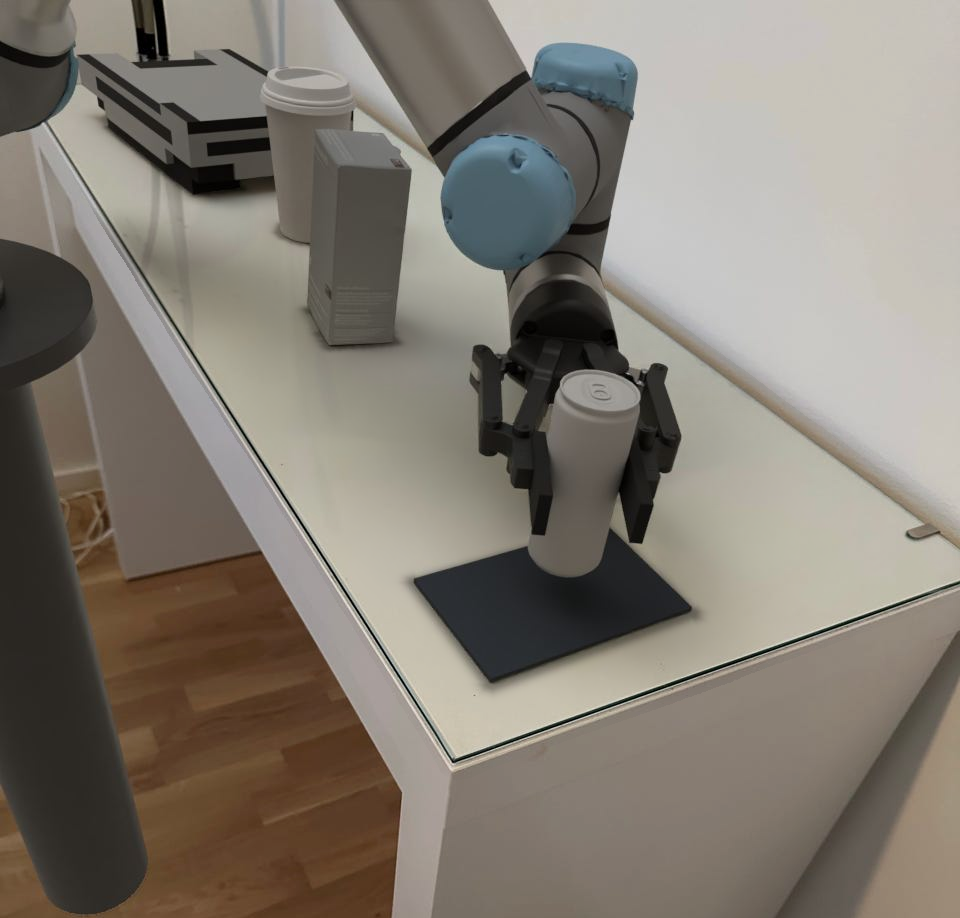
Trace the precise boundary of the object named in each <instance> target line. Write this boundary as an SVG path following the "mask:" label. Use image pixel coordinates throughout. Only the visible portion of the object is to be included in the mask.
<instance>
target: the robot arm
mask: <svg viewBox="0 0 960 918" xmlns="http://www.w3.org/2000/svg"><path fill="white" fill-rule="evenodd" d="M71 1H72V0H0V138H1V137H4V136H7V135H10V134H13V133H20V132H26V131H30V130H34V129H36V128H38V127H40V126H41V125H42V124H43V123H47V122H48V121H49V120H51V119H52V118H53V117H55V116H57V115H58V114H59V113H60V112H62V111H63V110H64V109H65V108H66V106H67V105H68V104H69V103H70V101H71V100H72V97H73V95H74V92H75V90H76V86H77V83H78V79H79V61H78V59H77V56H75V51H74V49H75V48H76V47H77V43H76V37H77V33H78V28H77V27H78V26H77V22H76V18H75V15H74V12H73V11H72V8H71V6H70V3H71ZM333 1H334V4H335V5H336V7H337V8H338V9H339V11H340V13H341V14H342V16H343V18H344V19H345V21H346V23H347V24H348V25H349V27H350V29H351V30H352V32H353V33H354V35H355V37H356V38H357V40H358V41H359V43H360V44H361V47H362V48H363V49H364V51H365V52H366V54H367V55H368V57H369V58H370V60H371V62H372V64H373V65H374V67H375V68H376V70H377V72H378V74H379V75H380V76H381V78H382V80H383V81H384V83H385V84H386V86H387V87H388V89H389V90H390V92H391V93H392V95H393V97H394V99H395V100H396V102H397V103H398V104H399V107H400V108H401V109H402V111H403V113H404V114H405V117H406V118H407V119H408V120H409V122H410V123H411V126H412V127H413V128H414V130H415V132H416V133H417V135H418V136H419V138H420V140H421V141H422V143H423V144H424V146H425V148H426V150H427V151H428V152H429V154H430V156H431V157H432V159H433V161H434V163H435V165H436V167H437V169H438V170H439V172H440V173H441V175H442V176H443V181H442V184H441V185H442V186H441V190H440V198H439V199H440V207H441V214H442V219H443V225H444V228H445V231H446V233H447V235H448V237H449V239H450V240H451V242H452V243H453V245H454V246H455V247H456V249H457V250H458V251H459V252H460V253H461V254H462V255H463V256H465V257H466V258H467V259H469V260H470V261H472V262H473V263H474V264H477V265H479V266H481V267H482V268H485V269H489V270H494V271H502V273H503V275H504V278H505V279H504V280H505V281H504V282H505V284H506V285H505V286H506V297H507V306H508V323H509V325H508V326H509V340H510V341H509V342H510V346H509V348H508V349H507V352H506V353H502V354H501V353H498V352H497V353H494V351H493V349H492V348H491V347H490V346H488V345H485V344H481V343H480V344H479V343H478V344H475V345H473V347H472V353H471V361H470V370H469V379H468V382H469V383H470V385H471V387H472V388H473V389H474V391H475V392H476V394H477V435H478V437H477V439H478V440H477V443H478V446H477V447H478V449H477V451H478V453H479V454H480V455H482V456H483V457H488V458H492V457H496V456H497V455H498V453H499V454H501V455H503V456H505V457H506V458H507V459H506V468H505V470H506V472H507V474H508V475H509V483H510V485H511V486H512V488H513V489H516V490H518V489H519V490H527V493H528V494H527V495H528V504H529V518H530V532H531V531H532V535H541V536H545V534H546V529H547V524H548V519H549V514H550V509H551V504H552V499H553V490H552V482H551V473H550V464H549V456H548V447H547V431H542V430H540V428H541V426H542V423H543V421H544V419H545V418H546V416H547V413H548V412H549V411H548V410H549V408H550V405H554V400H555V395H556V392H557V390H558V389H559V387H560V381H561V380H562V378H563V377H564V376H566V375H567V374H569V373H571V372H574V371H579V370H599V371H606V372H609V373H613V374H616V375H619V376H621V377H623V378H625V379H627V380H628V381H630V382H632V383H633V384H634V385H635V386H636V387H637V388H638V390H639V392H640V397H641V400H640V402H639V405H640V413H639V417H638V421H637V425H636V428H635V432H634V436H633V440H632V444H631V447H630V451H629V455H628V459H627V463H626V467H625V470H624V474H623V478H622V482H621V486H620V490H619V493H618V496H619V499H620V500H619V501H620V505H621V510H622V515H623V519H624V525H625V529H626V533H627V538H628V543H629V544H638V545H643V544H644V540H645V536H646V533H647V530H648V527H649V523H650V520H651V516H652V513H653V510H654V506H655V503H654V500H655V497H656V494H657V492H658V488H659V485H660V481H661V478H662V476H661V474H670V473H671V472H672V471H673V468H674V465H675V460H676V457H677V454H678V452H679V448H680V446H681V445H680V444H681V441H682V437H683V435H682V432H681V428H680V426H679V423H678V420H677V416H676V413H675V410H674V408H673V405H672V402H671V398H670V395H669V392H668V389H667V386H666V383H665V382H666V379H667V375H668V371H669V367H668V366H667V365H666V364H665V363H664V364H663V363H660V362H653V363H651V364H650V366H649V368H648V369H647V368H642V369H638V368H635V367H631V366H630V362H629V359H628V358H627V357H626V356H625V355H623V354H622V353H621V352H620V349H619V348H620V347H619V341H618V335H617V332H616V328H615V324H614V320H613V316H612V313H611V309H610V304H609V301H608V297H607V293H606V289H605V286H604V282H603V279H602V278H603V277H602V274H601V271H602V262H603V258H604V253H605V247H606V243H607V238H608V233H609V228H610V223H611V218H612V211H613V205H614V201H615V196H616V192H617V186H618V183H619V178H620V177H619V176H620V173H621V169H622V163H623V159H624V155H625V150H626V146H627V141H628V137H629V132H630V126H631V122H632V121H634V118H635V110H634V105H635V99H636V94H637V93H636V92H637V86H638V80H639V72H638V68H637V66H636V64H635V62H634V61H633V60H632V59H631V58H630V57H629V56H627V55H625V54H624V53H622V52H619V51H616V50H613V49H611V48H607V47H603V46H598V45H593V44H587V43H580V42H579V43H578V42H555V43H549V44H547V45H545V46H542V47H541V49H539V50H538V51H537V53H536V55H535V58H534V60H533V61H534V62H533V67H532V71H531V75H530V74H529V71H528V70H527V67H526V65H525V63H524V61H523V60H522V58H521V56H520V54H519V52H518V51H517V50H516V48H515V45H514V44H513V42H512V40H511V38H510V37H509V35H508V33H507V32H506V29H505V28H504V26H503V23H502V22H501V21H500V19H499V17H498V16H497V14H496V12H495V10H494V8H493V6H492V4H491V3H490V1H489V0H333ZM5 296H6V295H5V289H4V285H3V281H2V277H1V275H0V307H1V306H2V305H3V303H4V300H5ZM505 376H507V377H508V378H509V379H510V380H511V381H512V382H514V383H516V384H517V385H519V386H520V387H521V388H523V389H524V390H525V391H526V392H525V394H524V397H523V399H522V402H521V404H520V407H519V409H518V411H517V414H516V416H515V419H514V420H513V423H509V422H508V423H507V422H504V421H503V419H504V414H503V413H504V412H503V389H502V382H504V381H505Z"/></svg>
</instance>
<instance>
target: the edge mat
mask: <svg viewBox="0 0 960 918" xmlns="http://www.w3.org/2000/svg"><path fill="white" fill-rule="evenodd" d="M413 584H414V586H415V587H416V588H417V589H418V591H419V593H421V595H422V596H423V597H424V598H425V600H426V601H427V603H428V604H429V605H430V606H431V607H432V609H433V610H434V611H435V613H436V614H437V615H438V617H439V618H440V619H441V620H442V622H443V624H444V625H445V626H446V627H447V628H448V630H449V631H450V632H451V634H452V635H453V637H454V638H455V639H456V640H457V642H458V643H459V644H460V646H461V647H462V648H463V649H464V651H465V652H466V653H467V654H468V656H469V657H470V658H471V660H472V661H473V662H474V663H475V665H476V666H477V667H478V668H479V670H480V671H481V673H482V674H483V675H484V676H485V678H486V680H487V681H488V682H489V683H490V684H491V683H494V682H496V681H500V680H502V679H505V678H508V677H511V676H514V675H516V674H520V673H522V672H526V671H528V670H530V669H534V668H536V667H539V666H542V665H544V664H547V663H550V662H553V661H556V660H558V659H561V658H565V657H567V656H570V655H573V654H576V653H578V652H580V651H584V650H587V649H590V648H593V647H595V646H598V645H601V644H603V643H606V642H609V641H612V640H614V639H615V640H616V639H617V638H621V637H623V636H626V635H628V634H632V633H635V632H636V631H637V632H638V631H639V630H642V629H645V628H648V627H651V626H654V625H657V624H659V623H662V622H665V621H668V620H670V619H674V618H676V617H678V616H681V615H685V614H688V613H690V612H692V609H693V606H692V605H691V604H690V603H689V602H687V600H686V599H685V598H684V597H682V596H681V594H680V593H678V592H677V591H676V590H675V588H673V587H672V585H670V583H668V582H667V581H666V580H665V579H664V578H663V577H662V576H661V575H660V574H659V573H658V572H656V570H654V568H652V566H651V565H650V564H648V562H646V561H645V560H644V558H642V557H641V556H640V554H638V553H637V552H636V551H635V550H634V549H633V548H632V547H631V546H630V545H629V544H628V543H627V542H626V541H625V540H624V539H623V538H622V537H621V536H619V534H617V533H616V532H615V531H614V530H613V529H612V528H611V527H610V528H609V532H608V535H607V539H606V543H605V547H604V551H603V554H602V558H601V561H600V563H599V565H598V566H597V567H596V568H595V569H594V570H592V571H590V572H588V573H586V574H584V575H582V576H578V577H560V576H556V575H552V574H550V573H548V572H546V571H544V570H542V569H541V568H540V567H539V566H537V565H536V563H535V562H534V560H533V559H532V558H531V556H530V555H529V551H528V545H525V546H522V547H520V548H516V549H512V550H508V551H505V552H502V553H498V554H494V555H490V556H487V557H483V558H480V559H477V560H474V561H471V562H466V563H462V564H460V565H456V566H452V567H450V568H446V569H442V570H439V571H435V572H432V573H429V574H425V575H420V576H418V577H414V578H413Z"/></svg>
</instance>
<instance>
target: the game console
mask: <svg viewBox="0 0 960 918" xmlns="http://www.w3.org/2000/svg"><path fill="white" fill-rule="evenodd" d="M76 58H77V59H78V61H79V71H78V73H79V78H80V83H81V86H83V87H84V88H85V89H86V90H88V91H90V93H92V94H93V95H95V97H96V99H97V100H96V101H97V106H98V107H99V108H100V109H101V110H103V111H104V112H105V113H104V114H105V118H106V121H107V129H110V130H111V131H112V132H113V133H114V134H116V135H117V136H118V137H119V138H121V139H122V140H123V141H125V142H126V144H129V145H130V146H131V147H132V148H134V150H135V151H137V152H138V153H140V154H141V155H142V156H144V157H145V158H147V160H149V161H150V162H151V163H153V164H154V165H155V166H156V167H157V168H159V169H160V170H162V172H164V173H165V174H167V176H169V177H170V178H171V179H172V180H174V181H175V182H176V183H177V184H179V185H180V186H181V187H183V189H185V190H187V191H188V192H190V194H192V195H200V194H208V193H217V192H224V191H225V192H226V191H233V190H241V189H242V188H241V187H242V186H241V185H242V184H241V180H245V179H254V178H263V177H272V176H273V177H274V171H273V163H272V155H271V146H270V138H269V130H268V122H267V114H266V107H265V103H263V102H262V101H261V99H260V93H261V89H262V86H263V84H264V83H265V82H266V79H267V74H268V72H269V70H267V69H265V68H263V67H262V66H259V65H258V64H257V63H255V62H253V61H251V60H249V59H248V58H245V56H242V55H241V54H239V53H238V52H235V51H234V50H232V49H230V48H219V49H218V48H217V49H194V50H193V59H191V58H189V59H169V60H167V59H165V60H148V61H147V60H146V61H144V60H143V61H129V60H128V59H127V58H126V57H124V56H122V55H121V54H119V53H118V52H111V53H84V54H82V53H81V54H76ZM354 110H355V109H354ZM354 110H353V111H351V121H350V131H354V112H355V111H354Z"/></svg>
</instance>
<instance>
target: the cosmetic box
mask: <svg viewBox="0 0 960 918" xmlns="http://www.w3.org/2000/svg"><path fill="white" fill-rule="evenodd" d="M401 154H402V150H401V149H400V148H399V147H397V146H395V145H393V144H392V142H391V141H390V139H389V138H388V136H387V135H386V134H385V133H384V132H374V131H373V132H372V131H360V130H359V131H358V130H353V131H348V130H337V129H316V130H315V144H314V167H313V189H312V211H311V231H310V243H309V253H308V255H309V256H308V273H307V274H308V279H307V295H306V297H307V298H306V304H307V308H308V309H309V311H310V314H311V316H312V318H313V321H314V322H315V324H316V326H317V327H318V329H319V332H320V333H321V335H322V337H323V338H324V340H325V341H326V343H327V344H328V345H329V346H339V345H340V346H341V345H358V344H359V345H361V344H367V345H368V344H385V343H393V342H394V333H395V325H396V315H397V305H398V297H399V288H400V279H401V270H402V260H403V253H404V242H405V233H406V226H407V218H408V207H409V199H410V192H411V181H412V174H413V169H412V167H411V166H410V165H409V164H408V163H407V161H406V160H405V159H404V158H403V157H402V155H401Z"/></svg>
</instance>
